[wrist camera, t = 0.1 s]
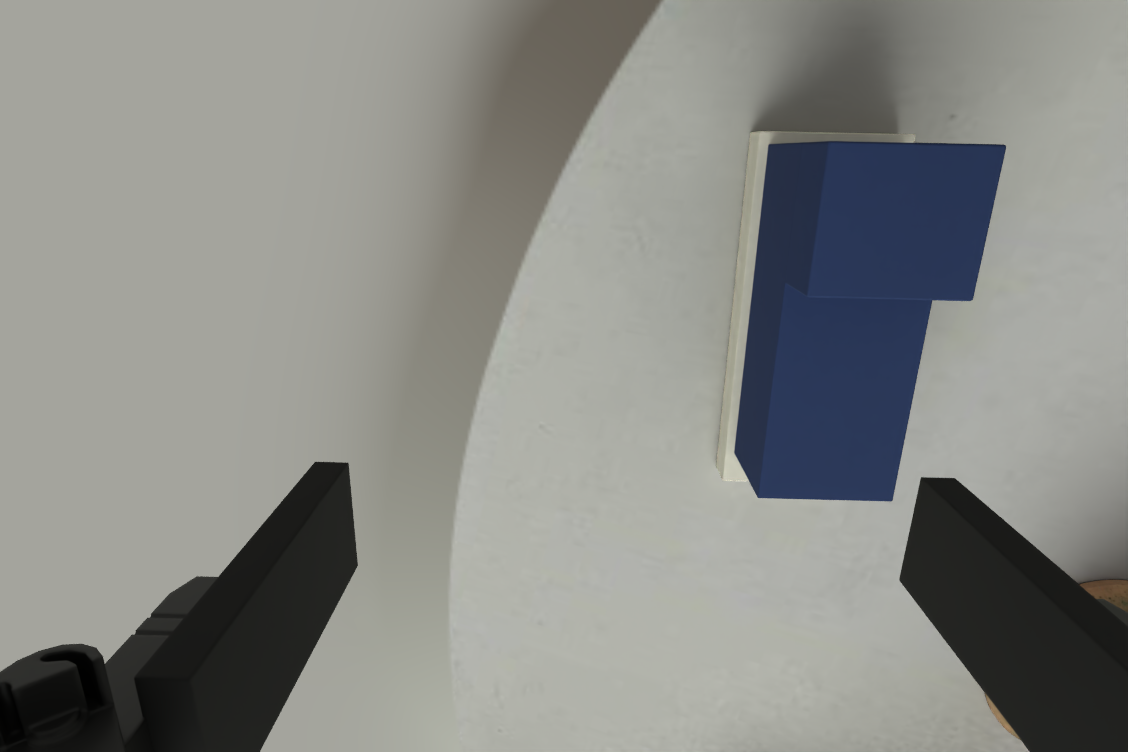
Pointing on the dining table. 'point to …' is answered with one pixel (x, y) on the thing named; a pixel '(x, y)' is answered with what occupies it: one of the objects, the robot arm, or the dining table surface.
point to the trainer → (842, 302)
